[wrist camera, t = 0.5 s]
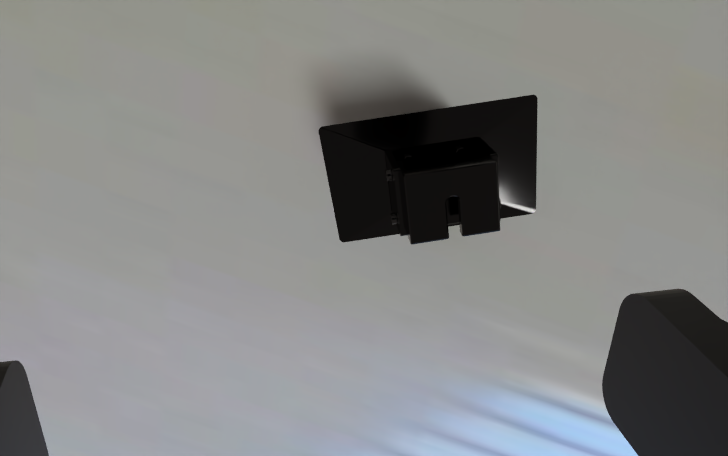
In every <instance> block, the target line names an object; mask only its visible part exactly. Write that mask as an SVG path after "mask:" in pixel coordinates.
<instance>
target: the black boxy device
mask: <svg viewBox="0 0 728 456" xmlns="http://www.w3.org/2000/svg"><path fill="white" fill-rule="evenodd" d="M319 135H320V140H321V146H322V151H323V156H324V161H325V166H326V171H327V176H328V182H329V187H330V192H331V197H332V202H333V207H334V213H335V218H336V223H337V228H338V233H339V238H340V241H342V242H349V241H355V240H362V239H369V238H375V237H382V236H388V235H395V234H400V236H404V235H408V238H409V240H410V243H411V244H418V243H424V242H431V241H437V240H444V239H448V238H449V233H448V226H454V225H460V232H461V234H462V236H469V235H476V234H482V233H489V232H495V231H500V218H507V217H513V216H520V215H527V214H532V213H534V212H535V210H536V158H537V97H536V96H535V95H529V96H522V97H516V98H509V99H502V100H496V101H489V102H482V103H476V104H469V105H462V106H456V107H449V108H443V109H436V110H429V111H423V112H416V113H409V114H403V115H396V116H389V117H383V118H376V119H370V120H363V121H356V122H350V123H343V124H336V125H330V126H323V127H321V128H320V129H319Z"/></svg>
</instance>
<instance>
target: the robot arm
mask: <svg viewBox="0 0 728 456" xmlns="http://www.w3.org/2000/svg"><path fill="white" fill-rule="evenodd" d="M602 388H603V397H604V401H605V405H606V408H607V411H608V413H609V415H610V417H611V419H612V420H613V422H614V423H615V425H616V426H617V427H618V429H619V430H620V432H621V433H622V434H623V436H624V437H625V438H626V440H627V441H628V442H629V444H630V445H631V446H632V448H633V449H634V450H635V452H636V453H637V454H638V456H728V322H726V321H724V320H722V319H720V318H719V317H718V316H717V315H715V314H714V313H713V312H712V311H711V310H710V309H709V308H707V307H706V306H705V305H704V304H703V303H702V302H700V301H699V300H698V299H697V298H696V297H695V296H694V295H692V294H691V293H690V292H688V291H686V290H683V289H672V290H663V291H654V292H645V293H636V294H631V295H628V296H627V297H626V298H625V299H624V300H623V302H622V304H621V306H620V309H619V313H618V317H617V322H616V326H615V330H614V334H613V338H612V342H611V346H610V350H609V355H608V359H607V363H606V367H605V371H604V375H603V383H602ZM0 456H49V455H48V450H47V447H46V443H45V439H44V436H43V432H42V429H41V425H40V421H39V418H38V414H37V411H36V407H35V403H34V400H33V396H32V393H31V389H30V385H29V382H28V378H27V375H26V372H25V369H24V367H23V365H22V364H21V363H20V362H19V361H7V362H0Z"/></svg>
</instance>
